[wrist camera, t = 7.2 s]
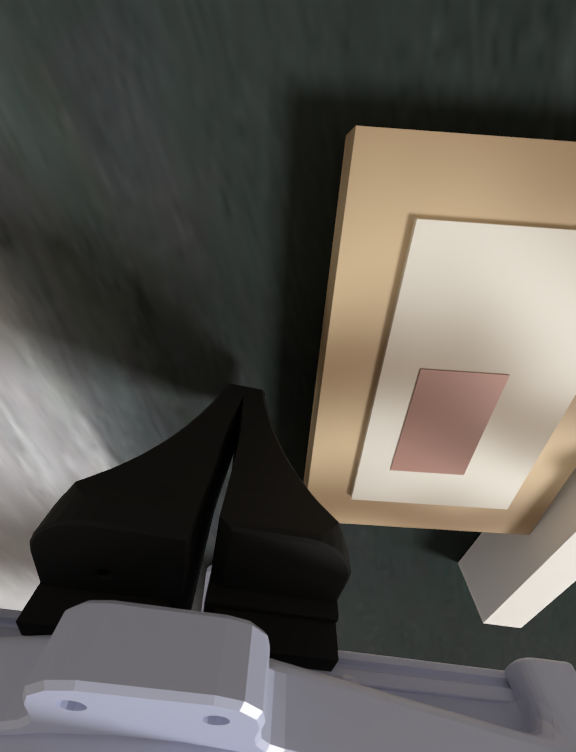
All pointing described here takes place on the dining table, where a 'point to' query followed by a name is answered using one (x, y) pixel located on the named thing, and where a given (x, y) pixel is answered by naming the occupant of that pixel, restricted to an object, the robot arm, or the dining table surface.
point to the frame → (448, 333)
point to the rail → (524, 564)
